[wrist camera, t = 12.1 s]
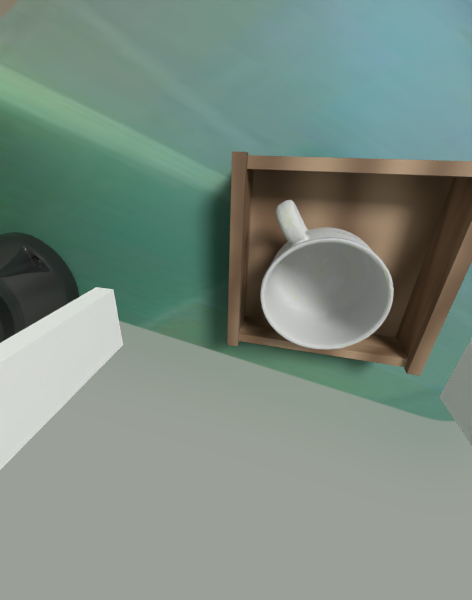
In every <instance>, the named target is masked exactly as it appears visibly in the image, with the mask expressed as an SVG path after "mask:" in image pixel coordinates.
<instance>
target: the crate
mask: <svg viewBox="0 0 472 600" xmlns="http://www.w3.org/2000/svg"><path fill="white" fill-rule="evenodd" d="M287 200H292V201H293V202H294V203H295V205H296V207H297V209H298V211H299V213H300V216H301V218H302V220H303V222H304V224H305V226H306V228H307V229H308V230H311V229H315V228H322V227H330V228H338V229H342V230H345V231H347V232H350V233H352V234H354V235H355V236H357V237H359V238H360V239H361V240H363V241H364V242H365V243H366V244H367V245H368V246H369V247H370V248H371V249H372V251H373V252H374V253H375V254H376V255H377V256H378V257H379V258H380V259H381V260H382V261H383V262H384V264H385V265H386V267H387V269H388V270H389V273H390V275H391V277H392V282H393V288H394V292H393V293H394V296H393V302H392V306H391V309H390V311H389V313H388V315H387V317H386V319H385V320H384V322H383V323H382V325H381V326H380V327H379V328H378V329H377V330H376V331H375V332H374V333H373V334H371V335H370V336H369V337H367V338H365V339H364V340H362V341H360V342H358V343H356V344H353V345H351V346H347V347H344V348H340V349H329V350H324V349H312V348H307V347H303V346H300V345H297V344H295V343H293V342H290V341H289V340H287V339H285V338H284V337H283V336H281V335H280V334H279V333H278V332H276V331H275V330H274V328H273V327H272V326H271V325H270V324H269V322H268V321H267V319H266V317H265V315H264V312H263V309H262V305H261V298H260V291H261V284H262V280H263V278H264V275H265V273H266V271H267V269H268V268H269V266H270V265H271V263H272V261H273V259H274V257H275V256H276V254H277V253H278V251H279V250H280V249H281V248H282V246H283V245H284V244H285V243H286V242H288V240H287V239H286V237H285V235H284V233H283V231H282V229H281V227H280V224H279V222H278V219H277V215H276V208H277V206H278V205H279V204H281V203H282V202H284V201H287ZM471 262H472V161H435V160H398V159H360V158H323V157H286V156H248V153H247V152H232V174H231V214H230V254H229V294H228V334H227V345H232V346H238V343H239V341H242V342H248V343H254V344H261V345H267V346H274V347H280V348H287V349H293V350H299V351H306V352H312V353H319V354H325V355H331V356H338V357H344V358H351V359H357V360H363V361H370V362H376V363H383V364H389V365H395V366H402V367H405V368H404V369H405V371H406V373H407V374H413V375H419V376H420V374H421V372H422V370H423V368H424V365H425V363H426V361H427V359H428V357H429V354H430V352H431V350H432V348H433V346H434V343H435V341H436V339H437V337H438V335H439V332H440V330H441V328H442V326H443V324H444V321H445V319H446V317H447V315H448V313H449V310H450V308H451V306H452V304H453V301H454V299H455V297H456V295H457V293H458V290H459V288H460V286H461V284H462V282H463V279H464V277H465V275H466V273H467V271H468V268H469V266H470V264H471Z"/></svg>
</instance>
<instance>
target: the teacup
mask: <svg viewBox="0 0 472 600" xmlns="http://www.w3.org/2000/svg"><path fill="white" fill-rule="evenodd" d="M276 215H277V219H278V222H279V224H280V227H281V229H282V231H283V233H284V235H285V237H286V239H287V240H288V242H286V243H285V244H284V245H283V246H282V248H281V249H280V250H279V251H278V253H277V254H276V256H275V257H274V259H273V261H272V263H271V265H270V266H269V268H268V269H267V271H266V273H265V275H264V278H263V280H262V284H261V291H260V298H261V305H262V309H263V312H264V315H265V317H266V319H267V321H268V322H269V324H270V325H271V326H272V327H273V328H274V330H275V331H276V332H278V333H279V334H280V335H281V336H283V337H284V338H285V339H287V340H289V341H290V342H293V343H295V344H297V345H300V346H303V347H307V348H312V349H324V350H329V349H340V348H344V347H347V346H351V345H353V344H356V343H358V342H360V341H362V340H364V339H365V338H367V337H369V336H370V335H371V334H373V333H374V332H375V331H376V330H377V329H378V328H379V327H380V326H381V325H382V323H383V322H384V320H385V319H386V317H387V315H388V313H389V311H390V309H391V306H392V302H393V296H394V293H393V292H394V288H393V282H392V277H391V275H390V273H389V270H388V269H387V267H386V265H385V264H384V262H383V261H382V260H381V259H380V258H379V257H378V256H377V255H376V254H375V253H374V252H373V251H372V249H371V248H370V247H369V246H368V245H367V244H366V243H365V242H364V241H363V240H361V239H360V238H359V237H357V236H355V235H354V234H352V233H350V232H347V231H345V230H342V229H338V228H330V227H322V228H315V229H311V230H308V229H307V228H306V226H305V224H304V222H303V220H302V218H301V216H300V213H299V211H298V209H297V207H296V205H295V203H294V202H293V201H292V200H287V201H284V202H282V203H281V204H279V205H278V206H277V208H276Z"/></svg>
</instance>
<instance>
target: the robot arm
mask: <svg viewBox="0 0 472 600" xmlns="http://www.w3.org/2000/svg"><path fill="white" fill-rule="evenodd" d="M122 345H123V343H122V336H121V331H120V325H119V319H118V314H117V308H116V302H115V297H114V291H113V289H106V288H98V287H96V288H94V289H92V290H91V291H89V292H87V293H85V294H84V295H82V296H80V297H79V295H78V289H77V286H76V283H75V280H74V278H73V276H72V274H71V272H70V270H69V268H68V267H67V265H66V264H65V263H64V261H63V260H62V259H61V258H60V256H59V255H58V254H57V253H56V252H55V251H54V250H53V249H51V248H50V247H49V246H48V245H46V244H45V243H43V242H42V241H40V240H39V239H37V238H35V237H32V236H30V235H27V234H23V233H16V232H14V233H6V234H1V235H0V470H1V469H2V468H3V467H4V466H5V465H6V464H7V462H9V461H10V460H11V459H12V457H13V456H14V455H15V454H16V453H17V452H18V451H19V450H20V449H21V448H22V447H23V446H24V445H25V444H26V443H27V442H28V441H29V440H30V439H31V438H32V437H33V436H34V435H35V434H36V433H37V432H38V431H39V430H40V429H41V428H42V427H43V426H44V425H45V424H46V423H47V422H48V421H49V420H50V419H51V418H52V417H53V416H54V415H55V414H56V413H57V412H58V411H59V410H60V409H61V408H62V407H63V406H64V404H66V402H67V401H68V400H69V399H70V398H71V397H72V396H73V395H74V394H75V393H76V392H77V391H78V390H79V389H80V388H81V387H82V386H83V385H84V384H85V383H86V382H87V381H88V380H89V379H90V378H91V377H92V376H93V375H94V374H95V373H96V372H97V371H98V370H99V369H100V368H101V367H102V366H103V365H104V364H105V363H106V362H107V361H108V359H110V358H111V357H112V356H113V355H114V354H115V353H116V351H118V349H119V348H120V347H121V346H122ZM440 399H441V400H442V402H443V403H444V405H445V406H446V408H447V409H448V411H449V412H450V414H451V415H452V417H453V418H454V420H455V421H456V423H457V424H458V426H459V427H460V428H461V430H462V432H463V433H464V435H465V436H466V437H467V439H468V440H469V442H470V444H471V445H472V338H471V340H470V342H469V344H468V346H467V348H466V349H465V351H464V353H463V355H462V357H461V358H460V360H459V362H458V364H457V366H456V368H455V369H454V371H453V373H452V375H451V377H450V378H449V380H448V382H447V384H446V386H445V388H444V389H443V391H442V393H441V395H440Z"/></svg>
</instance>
